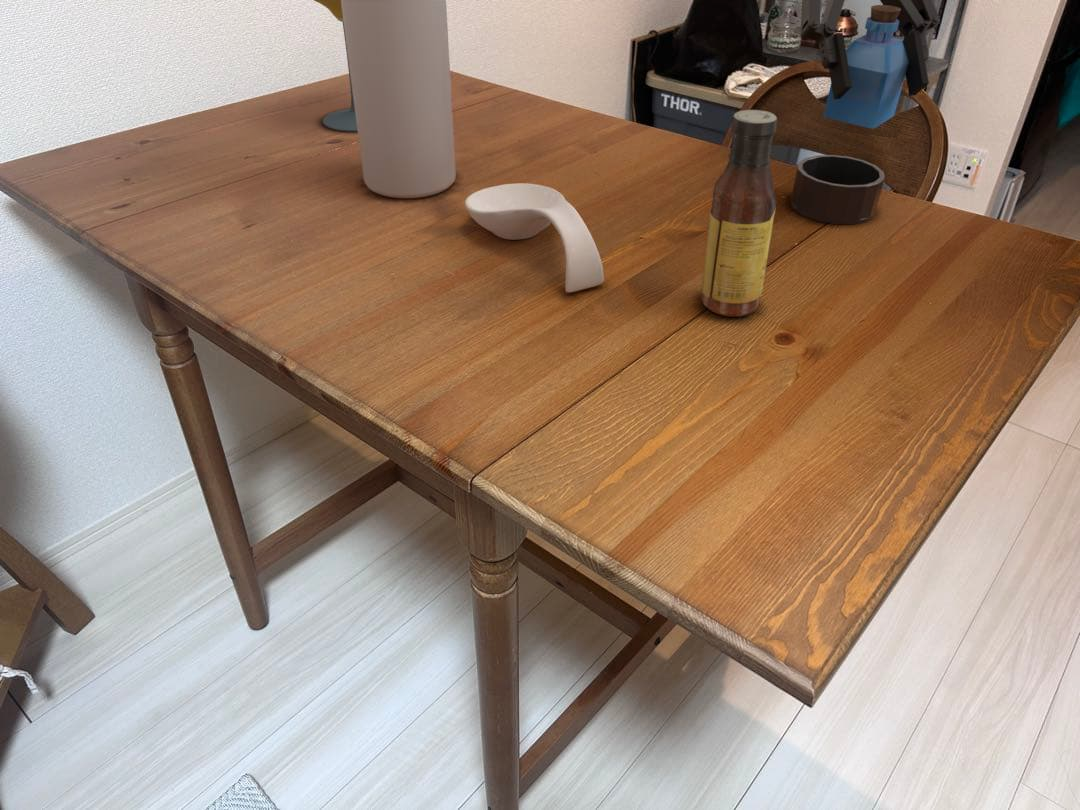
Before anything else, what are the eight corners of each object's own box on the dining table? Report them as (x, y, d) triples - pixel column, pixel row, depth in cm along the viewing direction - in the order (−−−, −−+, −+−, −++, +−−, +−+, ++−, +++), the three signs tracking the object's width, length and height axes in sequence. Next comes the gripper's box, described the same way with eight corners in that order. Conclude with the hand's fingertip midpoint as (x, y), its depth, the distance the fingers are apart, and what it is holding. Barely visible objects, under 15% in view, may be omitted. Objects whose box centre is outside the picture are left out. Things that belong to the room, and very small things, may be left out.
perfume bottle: (873, 129, 95) (902, 17, 87) (823, 117, 98) (847, 8, 90) (893, 116, 98) (923, 7, 91) (845, 104, 101) (870, -1, 94)
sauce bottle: (770, 309, 86) (811, 120, 74) (728, 326, 83) (762, 133, 71) (726, 283, 90) (757, 101, 78) (684, 299, 87) (710, 112, 75)
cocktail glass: (377, 96, 142) (358, -69, 126) (434, 123, 131) (422, -53, 115) (280, 117, 132) (248, -58, 117) (333, 148, 122) (306, -40, 106)
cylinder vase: (418, 158, 119) (401, -34, 104) (474, 182, 112) (466, -19, 97) (346, 181, 112) (317, -21, 96) (402, 209, 105) (380, -4, 90)
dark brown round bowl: (872, 196, 110) (882, 159, 106) (876, 229, 101) (887, 191, 98) (791, 187, 112) (798, 151, 109) (789, 218, 104) (797, 181, 101)
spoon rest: (451, 219, 103) (447, 164, 98) (533, 201, 107) (533, 148, 103) (541, 304, 86) (542, 243, 82) (633, 279, 91) (639, 219, 86)
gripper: (915, -69, 101) (946, 103, 98) (751, -66, 98) (779, 111, 95) (953, -114, 93) (988, 70, 91) (777, -113, 90) (807, 77, 88)
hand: (881, 91), depth 93 cm, fingers closed on perfume bottle, 9 cm apart
